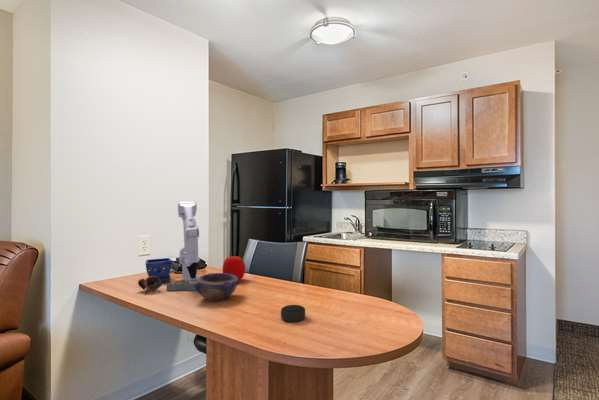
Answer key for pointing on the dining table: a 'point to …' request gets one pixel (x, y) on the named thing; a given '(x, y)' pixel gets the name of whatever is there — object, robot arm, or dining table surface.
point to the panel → (180, 286)
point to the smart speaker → (293, 313)
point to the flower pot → (159, 268)
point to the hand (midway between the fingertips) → (193, 278)
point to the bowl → (216, 285)
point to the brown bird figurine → (150, 283)
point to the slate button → (192, 280)
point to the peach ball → (179, 281)
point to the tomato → (234, 266)
